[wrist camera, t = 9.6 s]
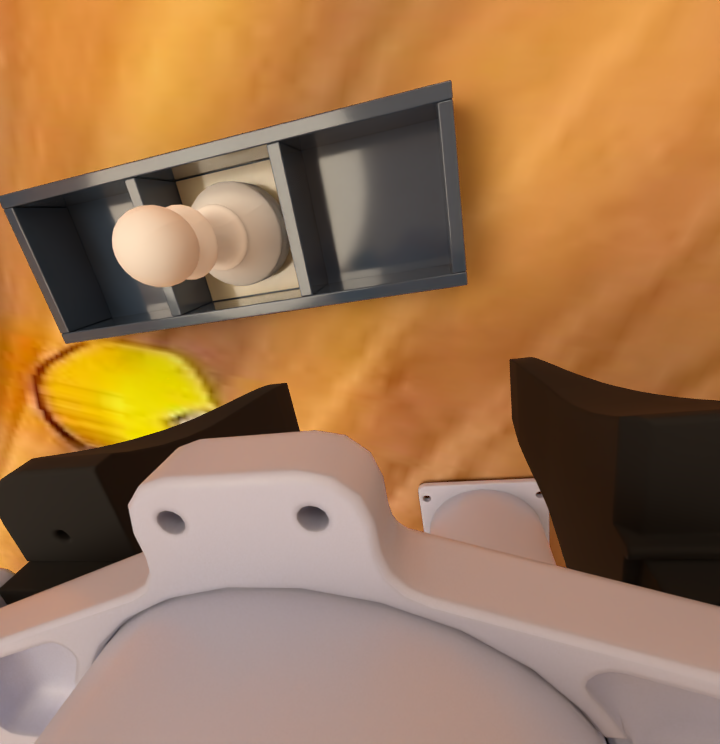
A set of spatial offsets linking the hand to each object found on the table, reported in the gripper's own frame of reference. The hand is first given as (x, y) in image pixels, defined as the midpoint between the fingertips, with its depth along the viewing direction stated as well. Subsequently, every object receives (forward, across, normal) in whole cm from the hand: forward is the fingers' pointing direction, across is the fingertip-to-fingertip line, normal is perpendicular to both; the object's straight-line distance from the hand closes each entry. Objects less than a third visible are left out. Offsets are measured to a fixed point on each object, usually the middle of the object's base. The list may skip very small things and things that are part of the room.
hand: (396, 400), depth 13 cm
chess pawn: (+10, +8, -6) cm, 14 cm away
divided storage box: (+10, +8, -6) cm, 14 cm away
